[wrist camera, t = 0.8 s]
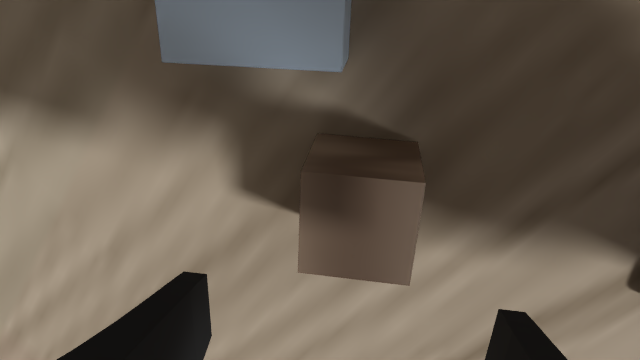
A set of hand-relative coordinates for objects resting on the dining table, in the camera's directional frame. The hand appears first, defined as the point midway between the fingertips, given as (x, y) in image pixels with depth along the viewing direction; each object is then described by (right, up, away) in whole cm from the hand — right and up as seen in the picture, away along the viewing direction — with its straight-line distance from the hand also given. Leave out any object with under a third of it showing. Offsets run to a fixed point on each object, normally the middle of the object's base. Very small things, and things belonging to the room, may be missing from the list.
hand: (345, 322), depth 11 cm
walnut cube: (+1, +3, +8) cm, 8 cm away
